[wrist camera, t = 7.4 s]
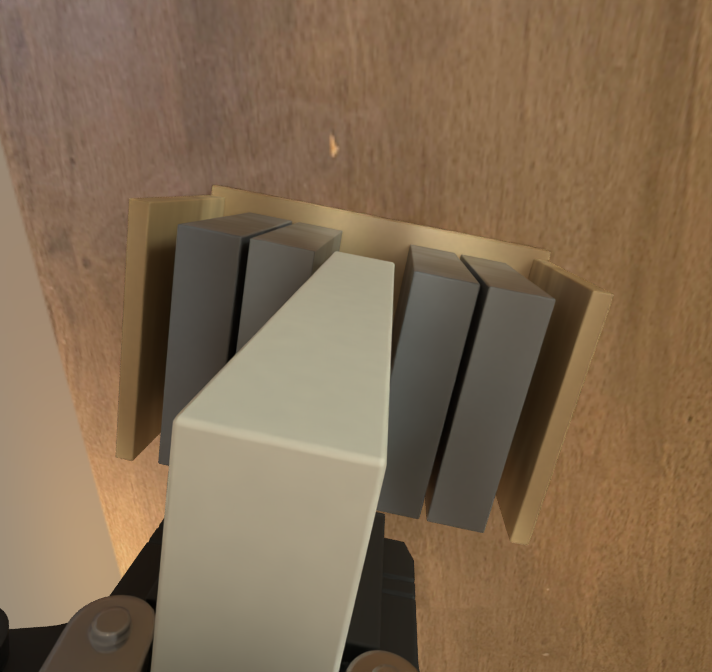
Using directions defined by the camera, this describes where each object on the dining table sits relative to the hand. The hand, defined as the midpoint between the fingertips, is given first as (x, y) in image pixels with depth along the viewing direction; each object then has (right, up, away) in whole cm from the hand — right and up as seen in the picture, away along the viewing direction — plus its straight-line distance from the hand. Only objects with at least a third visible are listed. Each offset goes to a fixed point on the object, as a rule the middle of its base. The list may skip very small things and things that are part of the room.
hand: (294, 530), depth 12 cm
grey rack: (+2, +5, +18) cm, 18 cm away
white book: (+1, +3, +10) cm, 10 cm away
